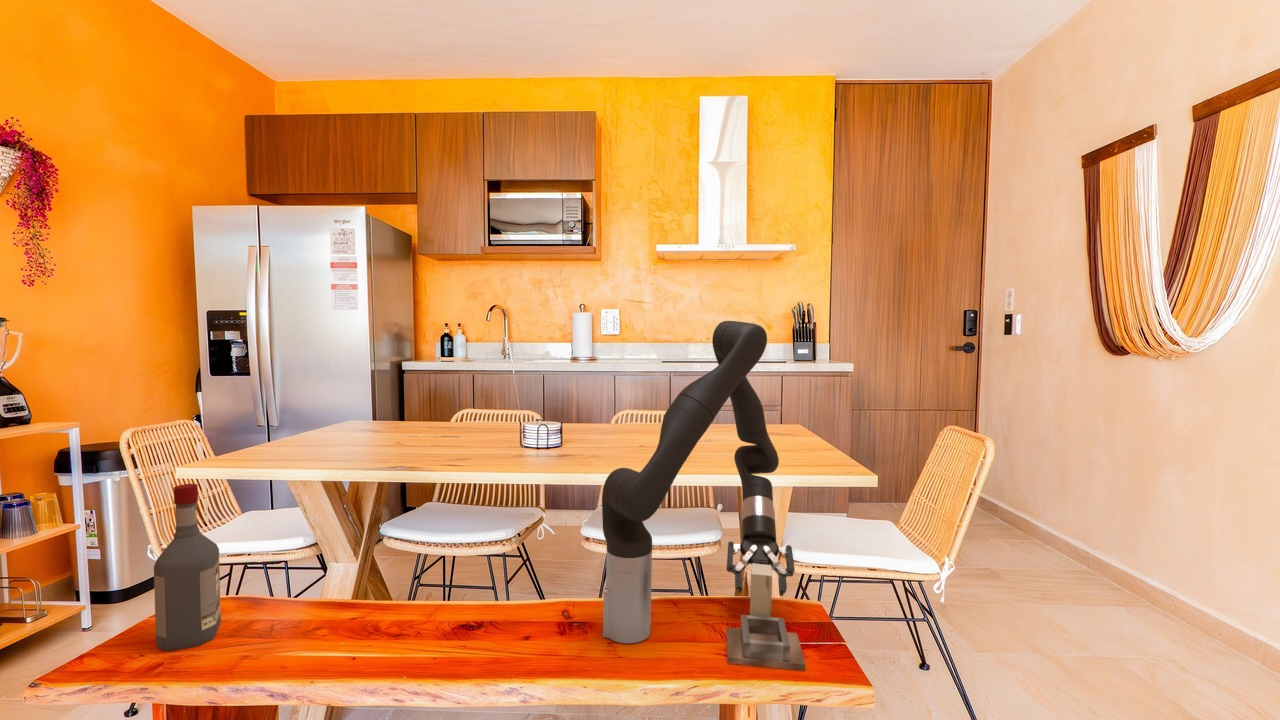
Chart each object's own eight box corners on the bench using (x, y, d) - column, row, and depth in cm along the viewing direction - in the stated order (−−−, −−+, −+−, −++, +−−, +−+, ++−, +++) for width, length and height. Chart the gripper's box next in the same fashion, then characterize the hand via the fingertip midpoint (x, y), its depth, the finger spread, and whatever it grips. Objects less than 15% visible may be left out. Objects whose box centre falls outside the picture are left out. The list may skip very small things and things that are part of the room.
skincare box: (770, 635, 118) (772, 576, 117) (749, 632, 119) (750, 574, 118) (770, 619, 124) (772, 564, 124) (749, 617, 125) (751, 562, 124)
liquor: (153, 655, 107) (148, 495, 105) (166, 632, 115) (162, 482, 113) (214, 643, 111) (210, 489, 109) (222, 621, 119) (219, 478, 117)
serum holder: (727, 663, 108) (728, 641, 107) (726, 632, 118) (727, 612, 118) (805, 670, 106) (806, 648, 106) (796, 638, 117) (797, 618, 116)
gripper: (727, 511, 130) (727, 583, 119) (792, 515, 128) (798, 588, 118) (726, 526, 136) (726, 596, 125) (788, 530, 134) (793, 602, 123)
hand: (760, 592), depth 121 cm, fingers open, 8 cm apart
